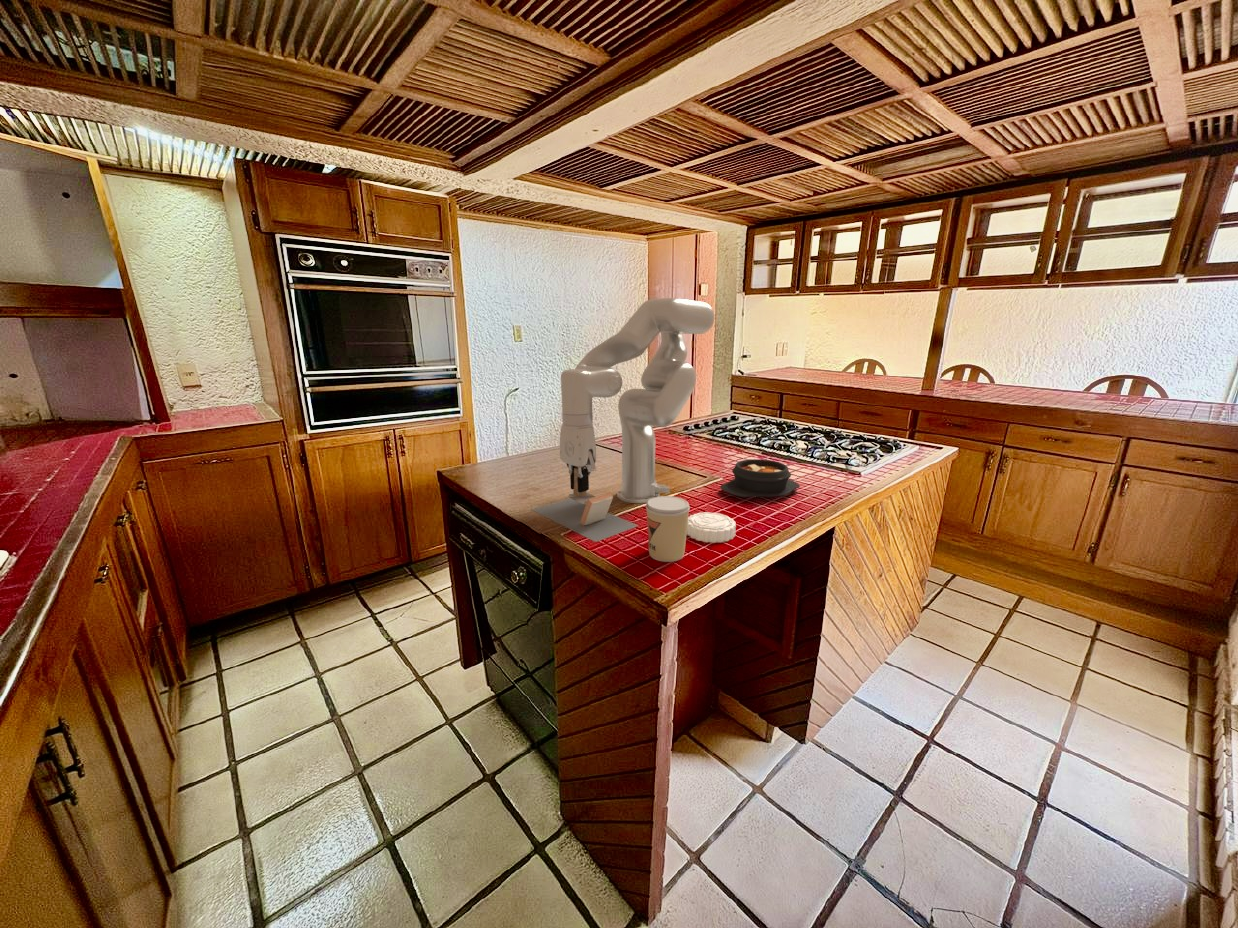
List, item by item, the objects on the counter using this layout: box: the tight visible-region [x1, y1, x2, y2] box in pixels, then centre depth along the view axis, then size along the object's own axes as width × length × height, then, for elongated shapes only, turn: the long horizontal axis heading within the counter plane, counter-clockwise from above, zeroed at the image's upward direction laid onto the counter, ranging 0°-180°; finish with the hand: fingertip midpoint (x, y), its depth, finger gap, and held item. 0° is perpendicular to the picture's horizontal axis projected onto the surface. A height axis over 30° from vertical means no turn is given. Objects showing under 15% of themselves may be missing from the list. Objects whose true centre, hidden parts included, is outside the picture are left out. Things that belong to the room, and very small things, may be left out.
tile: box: [580, 492, 614, 526], centre depth 120 cm, size 2×7×8 cm, turn 132°
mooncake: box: [686, 511, 737, 544], centre depth 116 cm, size 12×12×4 cm
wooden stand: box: [568, 467, 596, 504], centre depth 123 cm, size 7×5×8 cm
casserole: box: [719, 458, 801, 499], centre depth 144 cm, size 25×19×8 cm
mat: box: [531, 497, 639, 543], centre depth 126 cm, size 28×14×1 cm, turn 42°
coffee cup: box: [645, 495, 690, 563], centre depth 104 cm, size 9×9×12 cm
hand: (579, 489), depth 124 cm, fingers closed on wooden stand
